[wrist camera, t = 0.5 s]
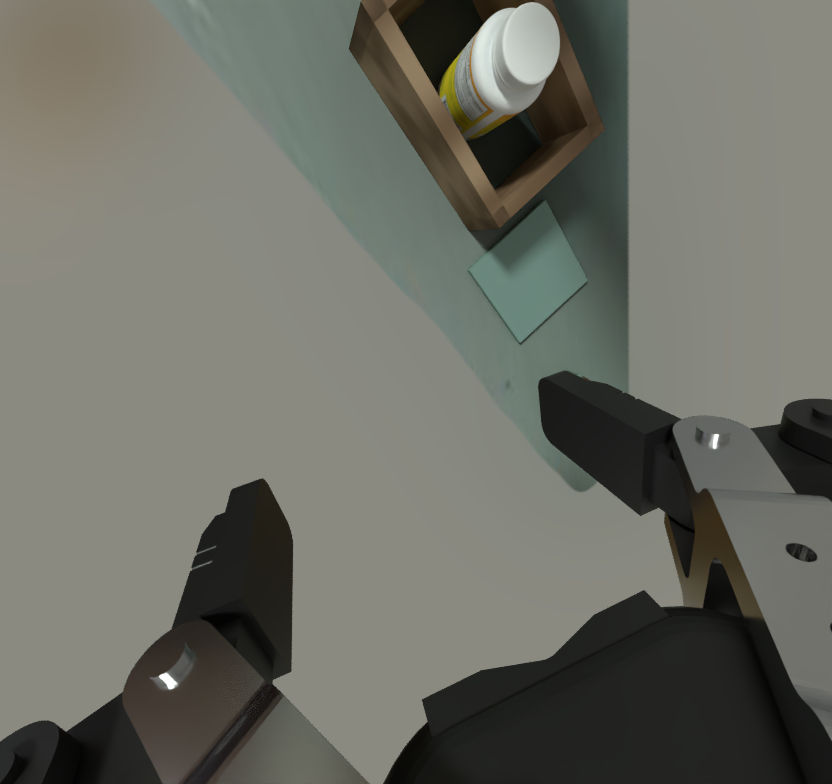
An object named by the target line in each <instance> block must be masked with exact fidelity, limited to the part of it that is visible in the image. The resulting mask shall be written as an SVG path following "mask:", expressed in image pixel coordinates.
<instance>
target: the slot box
mask: <svg viewBox="0 0 832 784" xmlns="http://www.w3.org/2000/svg"><path fill="white" fill-rule="evenodd" d="M425 1H426V0H362V1H361V3H360V7H359V11H358V15H357V18H356V22H355V26H354V30H353V34H352V38H351V42H350V46H349V50H350V51H351V53H352V54H353V56H354V57H355V59H356V61H357V62H358V64H359V65H360V67H361V68H362V70H363V71H364V73H365V74H366V76H367V77H368V79H369V80H370V82H371V83H372V85H373V86H374V88H375V89H376V91H377V92H378V94H379V95H380V97H381V98H382V100H383V101H384V103H385V104H386V106H387V108H388V109H389V111H390V112H391V114H392V115H393V117H394V118H395V120H396V121H397V123H398V124H399V126H400V127H401V129H402V130H403V132H404V133H405V135H406V136H407V138H408V139H409V141H410V142H411V144H412V145H413V147H414V148H415V150H416V152H417V153H418V155H419V156H420V158H421V159H422V161H423V162H424V164H425V165H426V167H427V168H428V170H429V171H430V173H431V174H432V176H433V177H434V179H435V180H436V182H437V183H438V185H439V186H440V188H441V189H442V191H443V192H444V194H445V195H446V197H447V199H448V200H449V202H450V203H451V205H452V206H453V208H454V209H455V211H456V212H457V214H458V215H459V217H460V218H461V220H462V221H463V223H464V224H465V226H466V227H467V229H468V230H469V231H476V230H487V229H497V228H500V227H501V226H503V225H504V224H505V223H506V222H507V221H508V220H509V219H510V218H511V217H512V216H513V215H514V214H515V213H516V212H517V211H519V210H520V209H521V208H522V207H523V206H524V205H525V204H526V203H527V202H528V201H529V200H530V199H531V198H532V197H533V196H535V195H536V194H537V193H538V192H539V191H540V190H541V189H542V188H543V187H544V186H545V185H546V184H547V183H548V182H549V181H551V180H552V179H553V178H554V177H555V176H556V175H557V174H558V173H559V172H560V171H561V170H562V169H563V168H564V167H565V166H567V165H568V164H569V163H570V162H571V161H572V160H573V159H574V158H575V157H576V156H577V155H578V154H579V153H580V152H581V151H583V150H584V149H585V148H586V147H587V146H588V145H589V144H590V143H591V142H592V141H593V140H594V139H595V138H596V137H597V136H599V135H600V134H601V133H602V132H603V131H604V130H605V128H604V125H603V123H602V120H601V118H600V115H599V113H598V110H597V108H596V105H595V103H594V101H593V98H592V96H591V93H590V91H589V88H588V86H587V83H586V81H585V78H584V76H583V73H582V71H581V68H580V66H579V63H578V61H577V59H576V56H575V54H574V51H573V49H572V46H571V44H570V41H569V39H568V36H567V34H566V31H565V29H564V26H563V24H562V21H561V19H560V16H559V14H558V12H557V9H556V7H555V4H554V2H553V0H472V2H473V4H474V6H475V8H476V10H477V12H478V14H479V16H480V18H481V20H482V22H483V24H484V23H485V22H486V21H487V20H488V19H489V18H490V17H491V16H492V15H493V14H495V13H496V12H498V11H500V10H502V9H506V8H518V7H519V6H521V5H523V4H525V3H530V2H535V3H539V4H541V5H543V6H544V7H546V8H547V9H548V10H549V11H550V12H551V14H552V15H553V17H554V19H555V21H556V23H557V26H558V30H559V35H560V50H559V56H558V60H557V63H556V65H555V67H554V69H553V71H552V72H551V74H550V75H549V76H548V77H547V78H546V81H545V84H544V87H543V89H542V91H541V93H540V94H539V96H538V97H537V99H536V100H535V101H534V102H533V103H532V104H531V105H530V106H529V107H527V108H526V111H527V114H528V116H529V118H530V120H531V122H532V124H533V126H534V128H535V130H536V132H537V134H538V136H539V138H540V140H541V142H542V144H543V145H542V146H541V147H539V148H538V149H537V150H536V151H535V152H534V153H533V154H532V155H531V156H530V157H529V158H528V159H527V160H526V161H525V162H524V163H522V164H521V165H520V166H519V167H518V168H517V169H516V170H515V171H514V172H513V173H512V174H511V175H510V176H509V177H508V178H507V179H505V180H504V181H503V182H502V183H501V184H500V185H499V186H498V187H497V188H496V189H495V190H494V189H493V187H492V185H491V184H490V182H489V180H488V179H487V177H486V175H485V173H484V172H483V170H482V168H481V167H480V165H479V163H478V162H477V160H476V158H475V156H474V155H473V153H472V151H471V150H470V148H469V146H468V145H467V143H466V141H465V139H464V138H463V136H462V134H461V133H460V131H459V129H458V128H457V126H456V124H455V122H454V121H453V119H452V117H451V116H450V114H449V112H448V111H447V109H446V107H445V105H444V104H443V102H442V100H441V99H440V97H439V95H438V94H437V92H436V90H435V88H434V87H433V85H432V83H431V82H430V80H429V78H428V77H427V75H426V73H425V71H424V70H423V68H422V66H421V65H420V63H419V61H418V60H417V58H416V56H415V54H414V53H413V51H412V49H411V48H410V46H409V44H408V43H407V41H406V39H405V37H404V36H403V34H402V32H401V31H400V29H399V27H400V26H401V25H402V24H403V23H404V22H405V21H406V20H407V19H408V18H409V17H410V16H411V15H412V14H413V13H414V12H415V11H416V10H417V9H418V8H419V7H420V6H421V5H422V4H423V3H424V2H425Z"/></svg>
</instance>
